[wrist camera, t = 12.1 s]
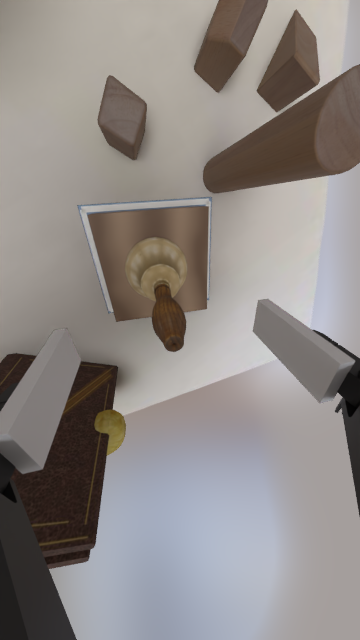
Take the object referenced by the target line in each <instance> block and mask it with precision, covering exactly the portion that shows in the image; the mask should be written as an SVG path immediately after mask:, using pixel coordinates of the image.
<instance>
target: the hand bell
mask: <svg viewBox="0 0 360 640" xmlns="http://www.w3.org/2000/svg"><path fill="white" fill-rule="evenodd" d="M187 269H188V268H187V261H186V258H185V255H184V253H183V252H182V250H181V249H180V248H179V247H178V246H177V245H176V244H175V243H173V242H172V241H170V240H168V239H165V238H160V237H152V238H147V239H144V240H142V241H140V242H139V243H137V244H136V245H135V246H134V247H133V248H132V249H131V250H130V252H129V254H128V256H127V258H126V262H125V273H126V278H127V280H128V282H129V284H130V285H131V287H132V288H133V289H134V290H135V291H136V292H137V293H139V294H140V295H142V296H144V297H147V298H149V299H151V300H153V301H156V303H155V305H154V307H153V311H152V323H153V328H154V331H155V333H156V335H157V336H158V337H159V339H160V340H161V341H162V342H163V344H164V346H165V348H166V349H167V350H168V351H171V352H176V351H178V350H180V349H181V348H182V347H183V345H184V335H185V330H186V319H185V315H184V312H183V310H182V308H181V307H180V305H179V304H178V303H177V301H175V300H174V299H173V297H174V296H175V295H176V294H177V292H178V290H179V289H180V288H181V287H182V285H183V284H184V282H185V279H186V276H187Z"/></svg>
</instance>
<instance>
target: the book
mask: <svg viewBox="0 0 360 640" xmlns="http://www.w3.org/2000/svg"><path fill="white" fill-rule="evenodd" d="M36 357H37V356H33V355H25V354H17V353H16V354H9V355H7V356H6V357H5V358H4V359H3V360H2V362H1V363H0V395H1V394H2V392H4V391H5V390H6V389H7V388H8V387H9V386H10V385H12V384H13V383H19V382H20V381H21V379H22V378H23V376H24V375H25V373H26V372H27V370H28V369H29V367H30V366H31V364H32V363H33V361H34V360H35V358H36ZM117 371H118V367H117V366H113V365H105V364H97V363H89V362H80V365H79V368H78V371H77V374H76V377H75V379H74V382H73V385H72V388H71V391H70V394H69V396H68V399H67V402H66V405H65V408H64V410H63V413H62V416H61V419H60V422H59V425H58V427H57V430H56V433H55V436H54V439H53V442H52V444H51V447H50V450H49V453H48V456H47V459H46V461H45V464H44V467H43V469H42V470H38V471H34V472H29V473H25V474H22V473H21V472H20V471H18V470H17V469H16V468H15V470H14V472H13V474H12V476H11V479H12V480H13V481H14V483H15V485H16V488H17V490H18V493H19V495H20V498H21V500H22V503H23V505H24V508H25V511H26V513H27V516H28V518H29V521H30V523H31V526H32V528H33V531H34V533H35V536H36V538H37V541H38V543H39V546H40V548H41V551H42V553H43V556H44V559H45V561H46V564H47V566H48V569H51V568H56V567H62V566H67V565H72V564H78V563H83V562H86V561H88V559H89V555H90V549H92V548H94V546H95V542H96V534H97V527H98V519H99V518H98V517H99V511H100V503H101V495H102V488H103V480H104V472H105V464H106V456H107V455H109V454H111V453H112V452H114V451H115V450H117V449H118V448H119V447H120V446H121V444H122V442H123V440H124V437H125V431H126V424H125V420H124V417H123V416H122V415H121V414H120V413H119V412H117V411H115V410H113V402H114V394H115V386H116V379H117Z"/></svg>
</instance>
